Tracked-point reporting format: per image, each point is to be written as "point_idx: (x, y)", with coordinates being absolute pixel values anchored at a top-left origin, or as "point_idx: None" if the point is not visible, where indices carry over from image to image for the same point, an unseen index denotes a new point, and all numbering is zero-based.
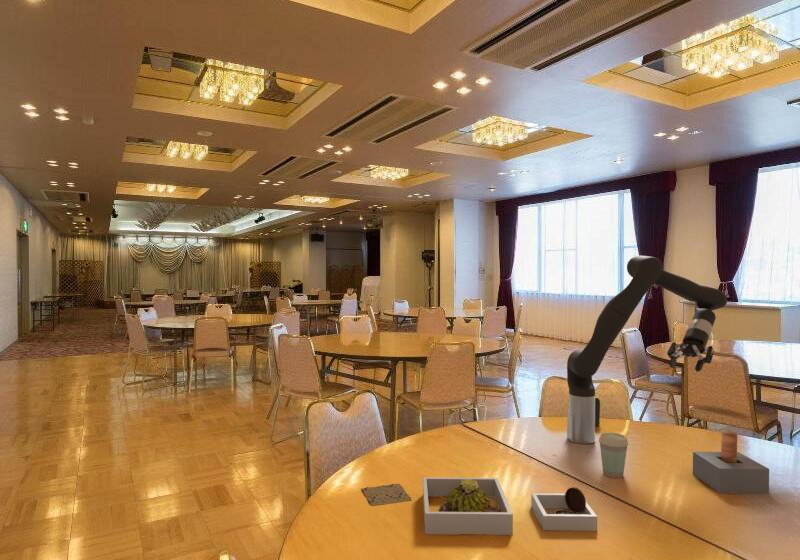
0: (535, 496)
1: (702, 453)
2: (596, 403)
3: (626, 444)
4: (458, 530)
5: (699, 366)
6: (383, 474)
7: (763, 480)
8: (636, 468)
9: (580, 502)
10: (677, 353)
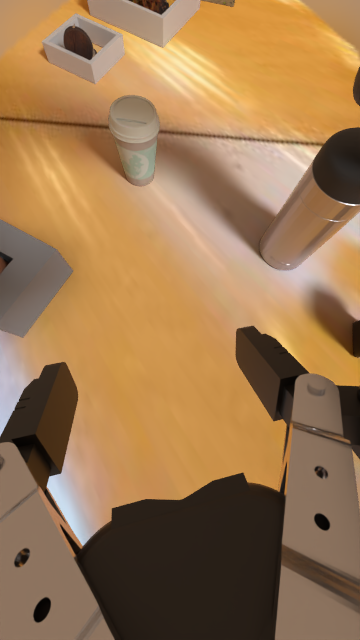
0: (113, 32)
1: (39, 255)
2: None
3: (109, 124)
4: None
5: (31, 392)
6: (262, 8)
7: None
8: (138, 219)
9: (71, 46)
10: (300, 422)
